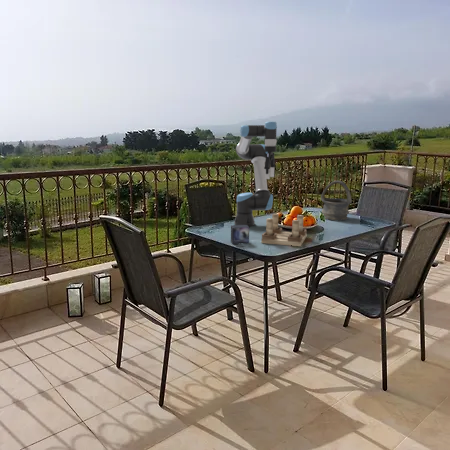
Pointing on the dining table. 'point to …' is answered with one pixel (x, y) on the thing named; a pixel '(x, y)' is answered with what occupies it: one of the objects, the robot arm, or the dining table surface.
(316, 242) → the dining table surface
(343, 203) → the wicker basket
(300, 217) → the loose leg
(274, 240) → the upturned wooden stool
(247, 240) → the small box
